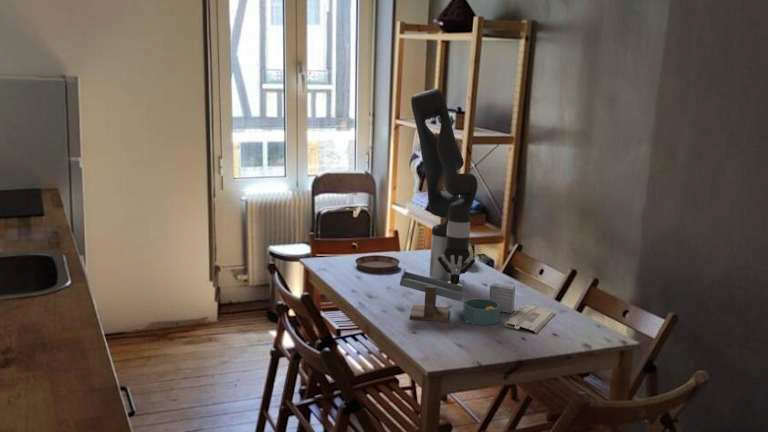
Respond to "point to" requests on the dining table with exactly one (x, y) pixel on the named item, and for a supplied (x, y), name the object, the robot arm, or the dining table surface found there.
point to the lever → (440, 286)
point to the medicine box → (503, 296)
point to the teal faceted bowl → (481, 311)
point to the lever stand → (429, 308)
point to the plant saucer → (377, 263)
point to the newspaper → (530, 318)
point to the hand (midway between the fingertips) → (454, 284)
